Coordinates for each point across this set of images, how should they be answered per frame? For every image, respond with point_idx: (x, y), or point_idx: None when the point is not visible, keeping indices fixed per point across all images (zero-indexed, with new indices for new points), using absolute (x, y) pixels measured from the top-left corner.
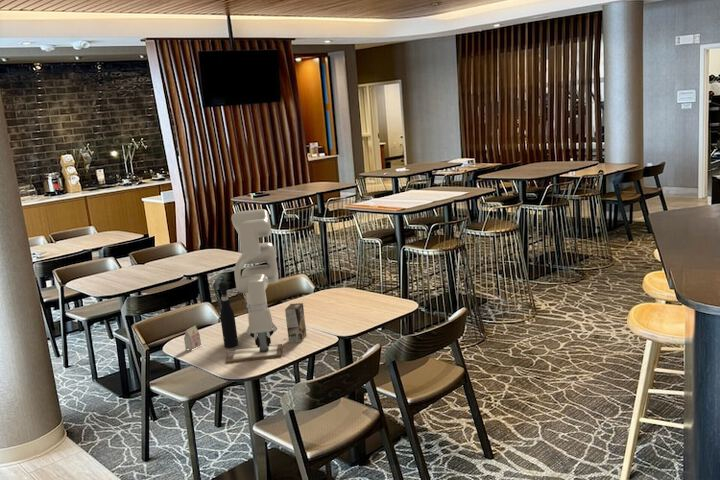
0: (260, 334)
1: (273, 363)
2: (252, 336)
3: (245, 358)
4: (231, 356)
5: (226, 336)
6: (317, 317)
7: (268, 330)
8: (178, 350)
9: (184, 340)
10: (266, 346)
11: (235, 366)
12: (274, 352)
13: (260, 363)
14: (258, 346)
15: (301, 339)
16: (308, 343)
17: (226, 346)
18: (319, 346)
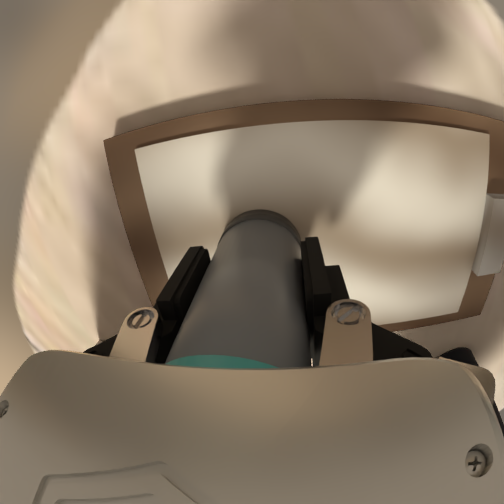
0: (245, 346)
1: (146, 24)
2: (394, 338)
3: (408, 117)
4: (495, 195)
5: None
6: None
7: (55, 361)
8: None
9: None
10: (220, 245)
11: (445, 36)
12: (160, 191)
13: (254, 23)
14: (305, 240)
15: None
16: (65, 316)
17: (472, 354)
18: (16, 267)
